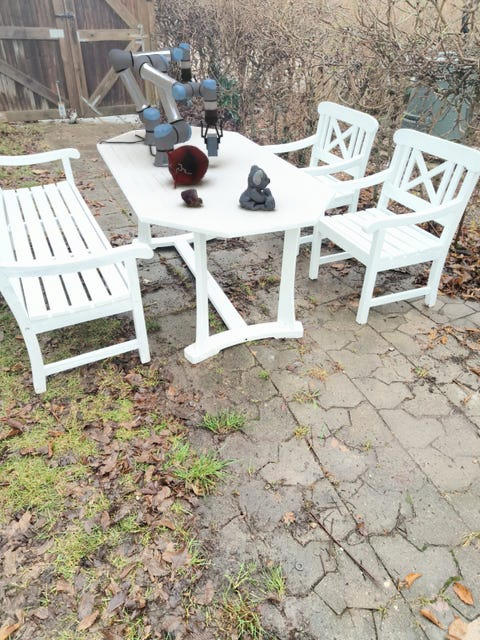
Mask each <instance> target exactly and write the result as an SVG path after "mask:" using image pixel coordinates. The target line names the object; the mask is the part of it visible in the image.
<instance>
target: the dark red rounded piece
mask: <svg viewBox="0 0 480 640" xmlns="http://www.w3.org/2000/svg"><path fill="white" fill-rule="evenodd" d="M165 151H166V153H167V155H168V167H167V169H168V172H169V174H170V175H171V178H172V180H173V181H174V185H173V188H174V189H176V188H177V185H194V184H197V183H199V182H200V181H201V180H202V179H203V178H204V177H205V175H206V174H207V172H208V169H209V166H210V161H209V157H208V155H206V153H205V152H204V151H202V150H201V149H200V148H199V147H198V146H195V145H192V144H185V145H181V146H178V147H176V148H174V150H173V151H172V152H171V153H169V152H168V150H167V149H165Z"/></svg>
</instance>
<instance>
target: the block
mask: <svg viewBox="0 0 480 640" xmlns="http://www.w3.org/2000/svg"><path fill="white" fill-rule="evenodd" d="M206 138H207V148H208V150H207V158H210V157H212V158H213V157H219V152H218V151H219V150H218V147H217V138H218V135H217V132H215V133H207V136H206Z"/></svg>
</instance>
